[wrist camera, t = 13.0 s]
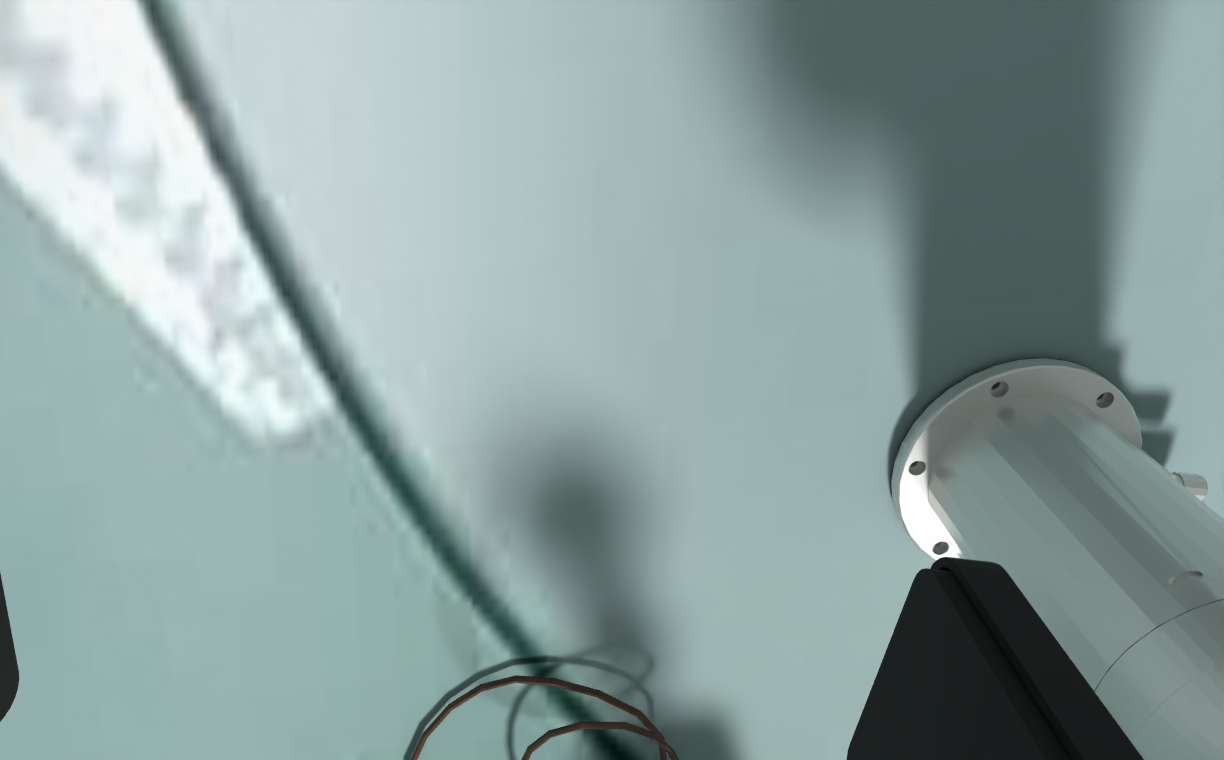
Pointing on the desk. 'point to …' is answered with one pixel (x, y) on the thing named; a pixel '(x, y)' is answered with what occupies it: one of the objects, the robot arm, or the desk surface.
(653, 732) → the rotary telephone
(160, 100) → the desk surface
